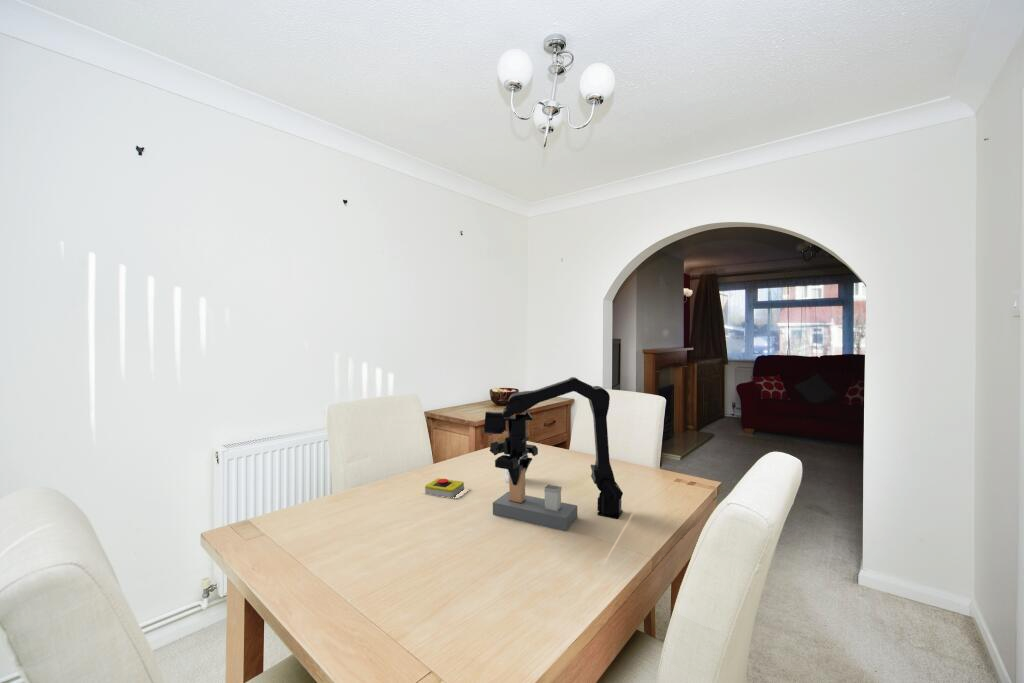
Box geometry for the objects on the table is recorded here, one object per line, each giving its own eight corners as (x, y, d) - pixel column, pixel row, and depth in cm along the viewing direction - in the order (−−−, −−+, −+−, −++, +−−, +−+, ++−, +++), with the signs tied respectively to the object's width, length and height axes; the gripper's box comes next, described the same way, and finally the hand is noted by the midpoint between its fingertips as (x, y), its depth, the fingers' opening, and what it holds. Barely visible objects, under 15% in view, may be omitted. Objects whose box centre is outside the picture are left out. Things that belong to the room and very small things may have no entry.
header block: (577, 518, 133) (577, 505, 133) (565, 532, 124) (565, 518, 124) (507, 503, 144) (507, 491, 144) (492, 515, 135) (492, 502, 135)
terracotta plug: (525, 499, 137) (525, 468, 137) (521, 503, 134) (521, 471, 134) (513, 497, 139) (513, 466, 139) (509, 500, 136) (509, 468, 136)
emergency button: (434, 474, 162) (470, 479, 156) (434, 485, 162) (470, 491, 156) (420, 482, 153) (457, 488, 147) (420, 494, 153) (457, 500, 148)
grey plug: (561, 519, 132) (561, 486, 131) (557, 523, 129) (557, 490, 129) (548, 516, 134) (548, 484, 133) (544, 520, 131) (544, 487, 130)
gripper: (508, 425, 148) (508, 470, 148) (479, 437, 131) (479, 488, 132) (538, 428, 143) (538, 475, 143) (512, 441, 126) (512, 495, 127)
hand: (517, 483), depth 136 cm, fingers closed on terracotta plug, 3 cm apart
